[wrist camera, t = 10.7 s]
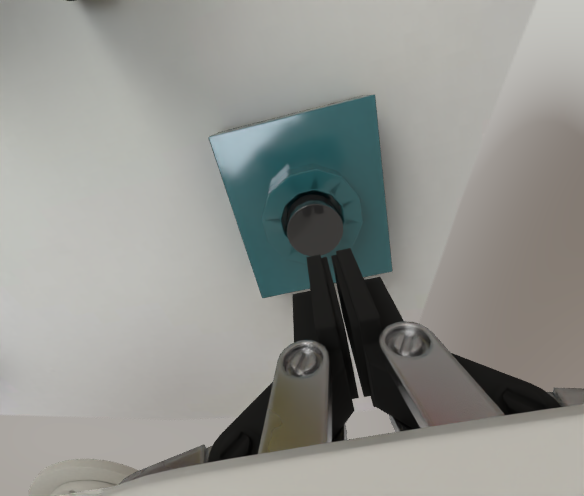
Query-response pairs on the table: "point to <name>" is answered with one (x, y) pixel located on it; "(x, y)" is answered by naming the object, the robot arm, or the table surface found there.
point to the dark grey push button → (314, 225)
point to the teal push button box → (306, 187)
